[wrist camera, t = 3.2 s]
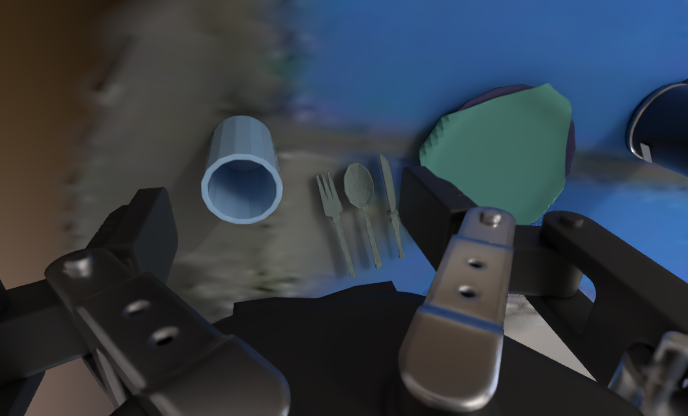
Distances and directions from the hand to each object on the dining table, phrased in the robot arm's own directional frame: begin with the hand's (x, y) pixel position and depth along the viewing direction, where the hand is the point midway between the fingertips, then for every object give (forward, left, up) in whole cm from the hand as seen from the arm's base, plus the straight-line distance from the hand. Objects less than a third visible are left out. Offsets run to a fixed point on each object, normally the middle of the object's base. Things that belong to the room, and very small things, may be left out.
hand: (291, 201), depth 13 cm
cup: (+6, +4, -25) cm, 26 cm away
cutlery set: (-8, +23, -25) cm, 35 cm away
